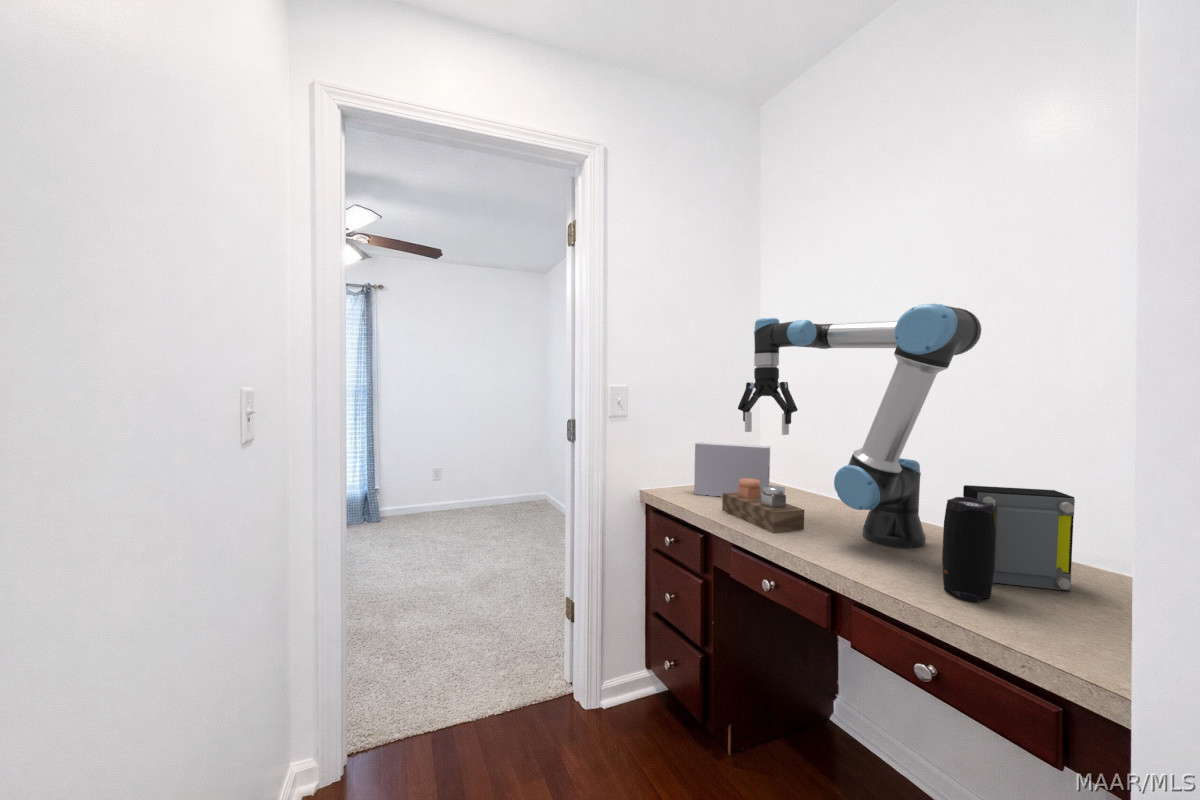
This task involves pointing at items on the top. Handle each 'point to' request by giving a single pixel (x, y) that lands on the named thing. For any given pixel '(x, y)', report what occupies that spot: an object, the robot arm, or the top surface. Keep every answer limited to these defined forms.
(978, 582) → the portable speaker
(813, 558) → the top surface
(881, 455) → the robot arm
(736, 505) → the wooden base block
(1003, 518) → the electrical component
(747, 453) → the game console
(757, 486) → the terracotta button
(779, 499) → the metal button
